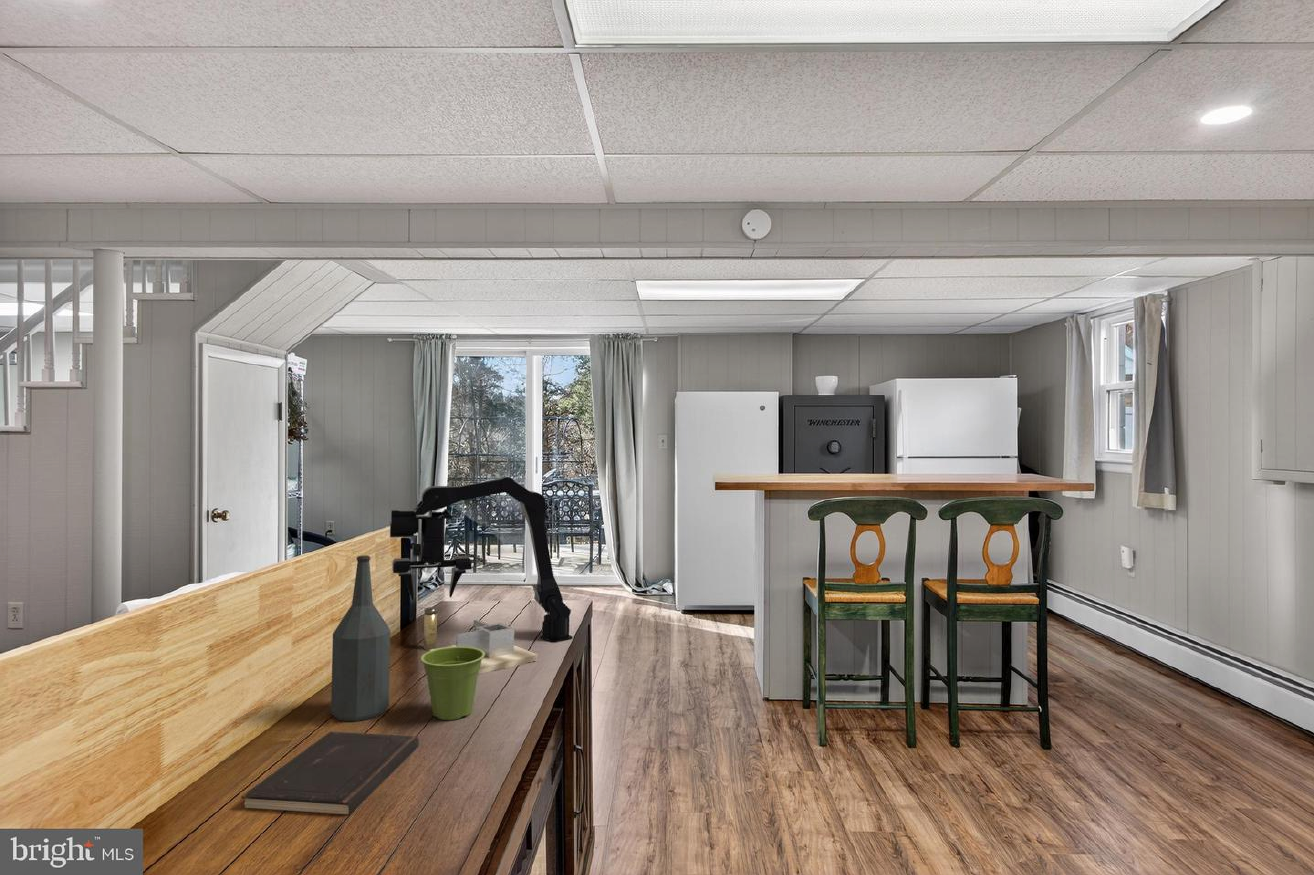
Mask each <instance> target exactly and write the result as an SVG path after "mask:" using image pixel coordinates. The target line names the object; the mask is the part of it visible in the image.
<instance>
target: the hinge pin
mask: <svg viewBox="0 0 1314 875" xmlns="http://www.w3.org/2000/svg"><path fill="white" fill-rule="evenodd" d="M423 615H424V620H423V621H424V624H423V627H424V628H423V629H424V630H423V631H424V632H423V650H425V649H426V650H425V651H429V650H431V649H435V648H437V638H438V637H437V631H438V629H437V627H438V607H435V606H434V607H425V608H424V614H423Z"/></svg>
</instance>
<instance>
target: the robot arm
mask: <svg viewBox="0 0 1314 875" xmlns="http://www.w3.org/2000/svg"><path fill="white" fill-rule="evenodd" d="M503 493H505V494H508V495H509V497H510V498H513V499H514V500H516V502H519V505H520V508H521V511H522V514H523V516H524V518H525V521H526V522H527V525H528V528H529V534H530V540H531V544H532V550H533V557H534V562H535V568H536V573H537V580H536V581H537V584H532V585H531V587H532V590H533V592H534V593H533V594H534V597H533V599H534V601H536V602H537V603H538V605H539V606H540V607H541V608H542V609H543V610H544V612H545V613H546V614H545V615H543V621H542V627H541V628H542V629H541V634H540V635H539V637H540V638H541V639H544V640H545V641H548V642H552V643H556V642H562V641H566V640H572V639H573V636H572V635H570V615H571V612H572V609H570V608H569V606H567V605H566V604H565V603H564V600H563V599H564V598H563V596H562V593H561V590H560V587H559V585H558V583H557V581H556V578H555V576H554V570H553V565H552V559H551V554H550V548H549V542H548V536H547V531H546V515H547V501H546V498H545V496H544V495H542V493H539V492H536V491H532V490H528V489H527V488H525V487H524V486H522V485H521V484H519V483H518V482H516V481H515V479H513V478H512V477H510V476H509V477H508V476H502V477H500V478H494V479H489V480H485V481H479V482H473V483H468V484H467V483H466V484H463V485H454V486H453V485H451V486H450V485H445V486H444V485H433V486H428V487H426V488H425V489H424V490H423V492H421V500H420V501H419V503H417V505H416V506H415V507H414V509H412V510H409V509H408V510H399V509H392V510H391V513H390V522H389V527H390V528H389V538H390V539H391V538H413V537H414V536H415V535H416V534H418V533H419V529H420V543H412V558H418V559H419V560H410V557H407V558H406V557H404V558H403V557H402V558H394V559H393V560H392V566H391V567H392V569H391V570H392V572H393V574H398V576H399V577H402V578H403V579H404V581H405V583H406V586H407V588H408V593H409V596H410V599H411V601H413V600H414V596H415V595H414V587H413V576H412V573H411V569H432V568H433V569H434V568H436V569H437V568H451V577H450V584H449V595H448V596H449V598H452V597H453V595H454V591H455V589H456V587H457V583H458V582H459V580H460V578H461V577H462V575H463V574H466V573H467V570H472V564H473V563H472V559H471V558H470V557H469V556H468V555H454V556H453V558H452V559H445V542H446V540H445V539H446V538H445V537H446V536H445V534H446V530H445V529H446V528H445V526H446V520H447V519H449V520H450V519H453V518H454V516H453V515H452V514H451V513H450V512H449V511H448V509H447V507H449V506H452V505H454V504H457V503H458V502H462V501H468V500H472V499H477V498H482V497H488V496H493V495H497V494H503ZM442 509H444V510H442ZM439 510H442V511H439ZM430 511H431V512H430ZM429 512H430V515H426V514H427V513H429ZM420 522H421V523H420ZM419 524H420V525H421V526H420V528H419Z"/></svg>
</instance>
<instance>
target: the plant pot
mask: <svg viewBox="0 0 1314 875" xmlns="http://www.w3.org/2000/svg"><path fill="white" fill-rule="evenodd" d="M445 647H446V648H442V647H439V648H440V649H436V650H432V651H429V650H428V651H427V652H425V653H424V654H422V655H421V657H420V661H421V663H423V667H424V672H425V675H426V678H427V683H428V691H429V696H430V704H431V711H432V715H433V717H436V718H437V719H439V720H444V721H449V720H450V721H455V720H459V719H461V718H462V717H467V716H469V715H470V714H472V711H473V706H474V701H475V700H474V699H475V695H476V687H477V682H478V676H479V674H478V672H479V669H480V666H481V660H482V658H483V657H484V656H485V653H484V651H482V650H480V649H477V648H473V647H447V646H445Z"/></svg>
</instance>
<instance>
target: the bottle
mask: <svg viewBox="0 0 1314 875" xmlns="http://www.w3.org/2000/svg"><path fill="white" fill-rule="evenodd" d="M370 560H371V557H370V555H357V556H356V561H357V564H356V569H355V570H356V572H355V578H354V587H353V594H352V602H351V605H350V606H349V609H348V610H347V611H346V613H345V614H344V616H343V617H342V619H341V620H340V622H339V624H338V625H337V627H336V628H335V630H334V631H333V633H332V646H331V647H332V652H331V653H332V656H331V659H332V660H331V695H330V696H331V697H330V698H331V701H330V713H331V715H332V716H333V717H334V718H335V719H337V720H338V721H339V720H340V721H341V720H342V721H345V722H359V721H365V720H371V719H374V718H377V717H380V716H381V715H382V714H383V713H385V711H386V710H387V709H388V707H389V705H390V668H391V667H390V664H391V662H390V660H391V657H390V656H391V628H390V627H389V626H388V624H387V623H386V621H385V619H384V618H383V616H382V615H381V614H380V612H379V611H378V610H379V609H377V607H376V606H375V604H374V601H373V589H372V578H371V568H370ZM379 715H380V716H379Z"/></svg>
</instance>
